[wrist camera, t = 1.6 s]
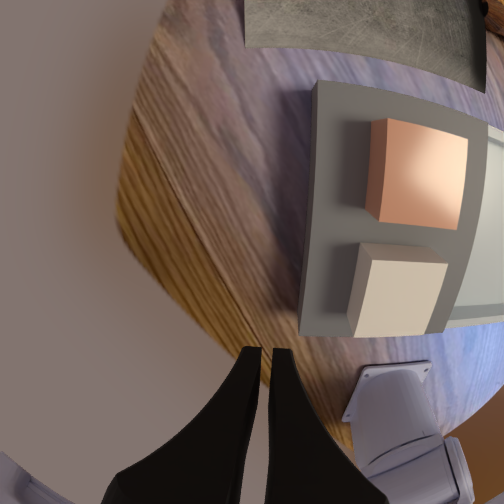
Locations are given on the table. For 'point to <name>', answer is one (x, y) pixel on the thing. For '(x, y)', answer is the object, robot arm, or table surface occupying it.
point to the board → (354, 197)
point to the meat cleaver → (384, 31)
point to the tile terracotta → (415, 174)
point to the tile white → (394, 290)
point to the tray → (486, 249)
